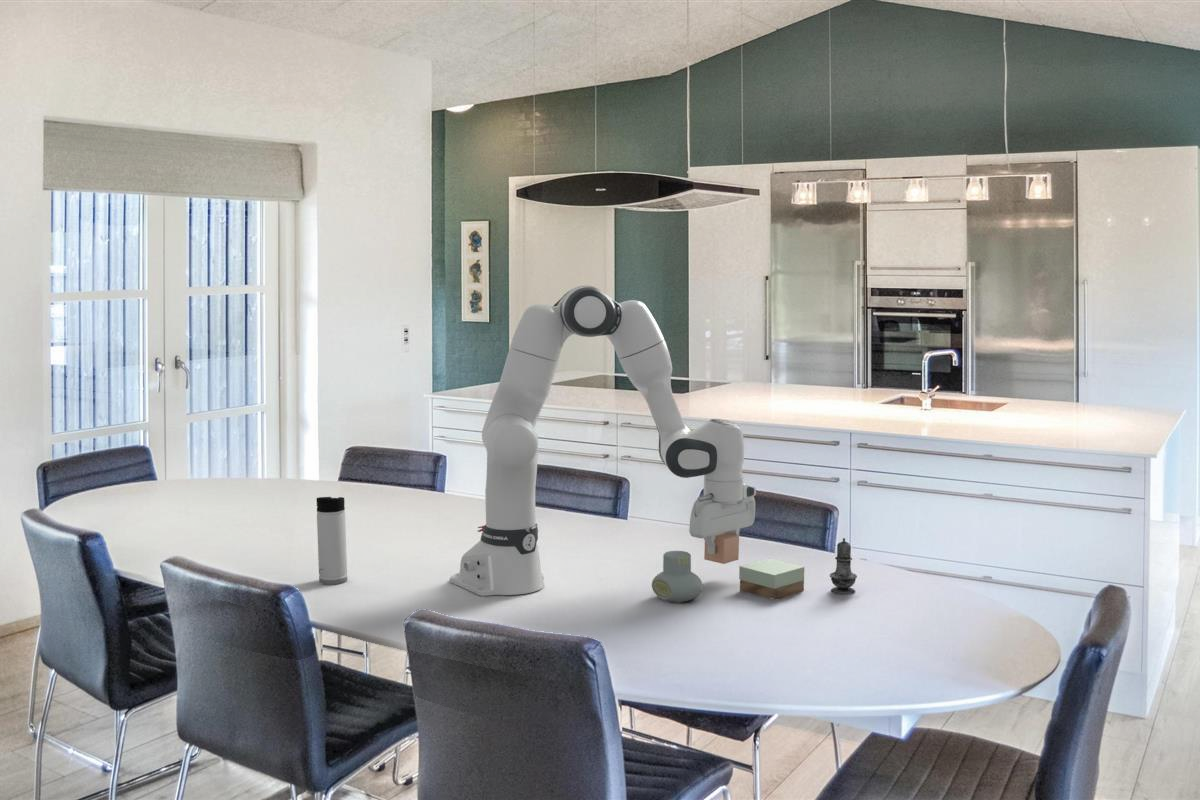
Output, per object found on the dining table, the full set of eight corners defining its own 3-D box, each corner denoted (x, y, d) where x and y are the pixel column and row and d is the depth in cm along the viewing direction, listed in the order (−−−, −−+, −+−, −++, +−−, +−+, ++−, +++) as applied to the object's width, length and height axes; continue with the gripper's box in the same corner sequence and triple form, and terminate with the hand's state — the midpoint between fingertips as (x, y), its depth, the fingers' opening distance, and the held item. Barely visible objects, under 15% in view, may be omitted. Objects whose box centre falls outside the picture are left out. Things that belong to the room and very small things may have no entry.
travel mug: (314, 584, 261) (311, 498, 259) (325, 577, 268) (322, 492, 265) (340, 586, 260) (337, 498, 258) (351, 578, 267) (348, 492, 264)
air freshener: (708, 601, 246) (708, 556, 245) (677, 608, 242) (677, 562, 241) (676, 590, 255) (676, 545, 254) (646, 596, 251) (646, 551, 250)
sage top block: (739, 579, 255) (739, 566, 254) (769, 571, 261) (769, 558, 261) (774, 588, 247) (774, 575, 247) (804, 580, 254) (804, 566, 253)
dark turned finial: (859, 595, 251) (860, 540, 249) (832, 595, 251) (833, 541, 249) (853, 587, 256) (854, 534, 255) (827, 587, 257) (828, 534, 255)
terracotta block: (704, 559, 262) (704, 535, 262) (718, 555, 266) (719, 531, 266) (723, 564, 258) (724, 539, 258) (738, 559, 263) (739, 535, 262)
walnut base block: (739, 593, 254) (740, 580, 254) (766, 584, 261) (766, 571, 261) (777, 602, 247) (777, 588, 247) (803, 592, 255) (803, 579, 254)
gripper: (706, 499, 251) (704, 561, 252) (760, 487, 266) (758, 546, 267) (683, 495, 255) (681, 556, 257) (738, 483, 270) (736, 541, 272)
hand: (721, 551), depth 262 cm, fingers closed on terracotta block, 5 cm apart
